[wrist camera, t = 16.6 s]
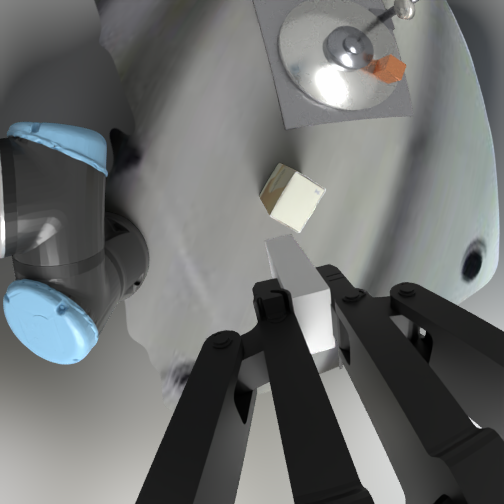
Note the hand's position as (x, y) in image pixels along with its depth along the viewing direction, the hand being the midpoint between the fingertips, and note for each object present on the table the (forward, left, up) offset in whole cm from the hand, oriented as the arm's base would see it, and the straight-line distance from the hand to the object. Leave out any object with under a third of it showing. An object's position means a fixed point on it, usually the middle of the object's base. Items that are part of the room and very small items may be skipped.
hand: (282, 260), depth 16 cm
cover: (+19, +19, -27) cm, 37 cm away
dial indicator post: (+29, +26, -29) cm, 49 cm away
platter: (+19, +19, -28) cm, 39 cm away
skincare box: (+5, -1, -30) cm, 30 cm away
